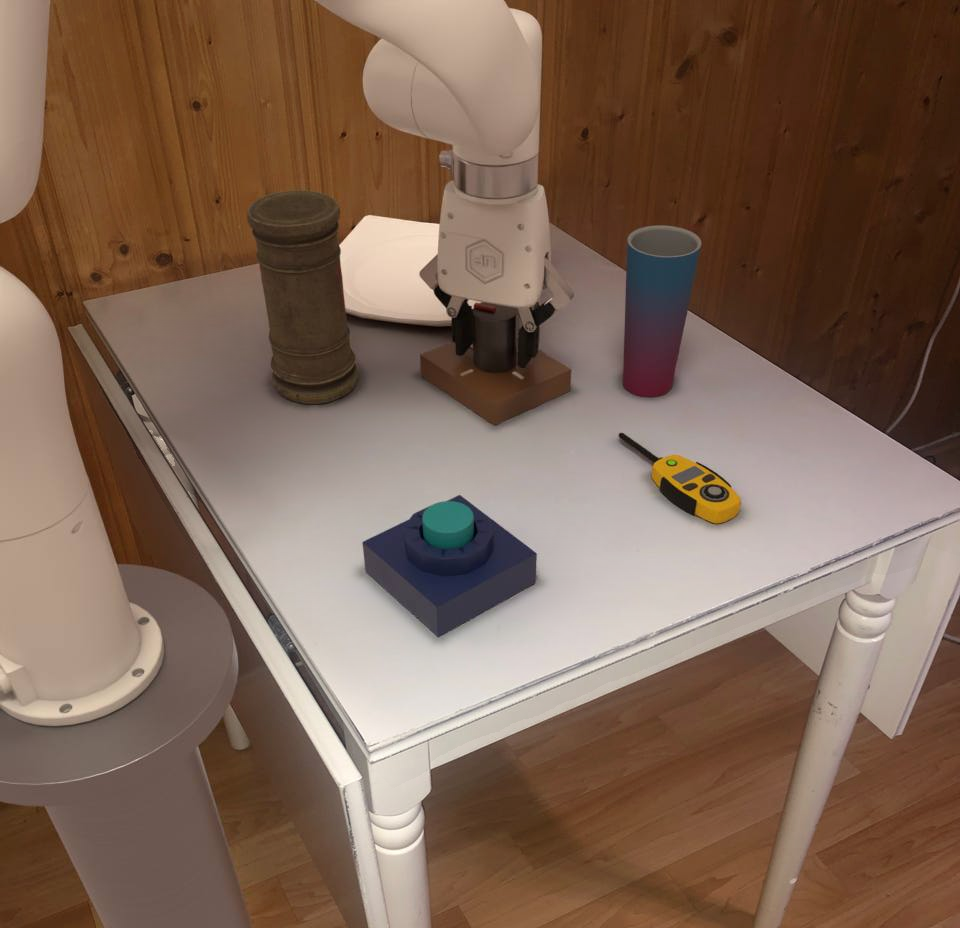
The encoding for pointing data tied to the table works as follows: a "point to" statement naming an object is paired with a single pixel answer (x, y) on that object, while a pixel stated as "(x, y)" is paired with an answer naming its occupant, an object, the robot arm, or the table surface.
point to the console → (495, 382)
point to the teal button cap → (448, 525)
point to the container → (304, 295)
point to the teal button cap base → (449, 570)
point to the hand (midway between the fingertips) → (495, 353)
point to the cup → (656, 305)
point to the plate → (391, 272)
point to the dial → (494, 337)
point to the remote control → (692, 486)
